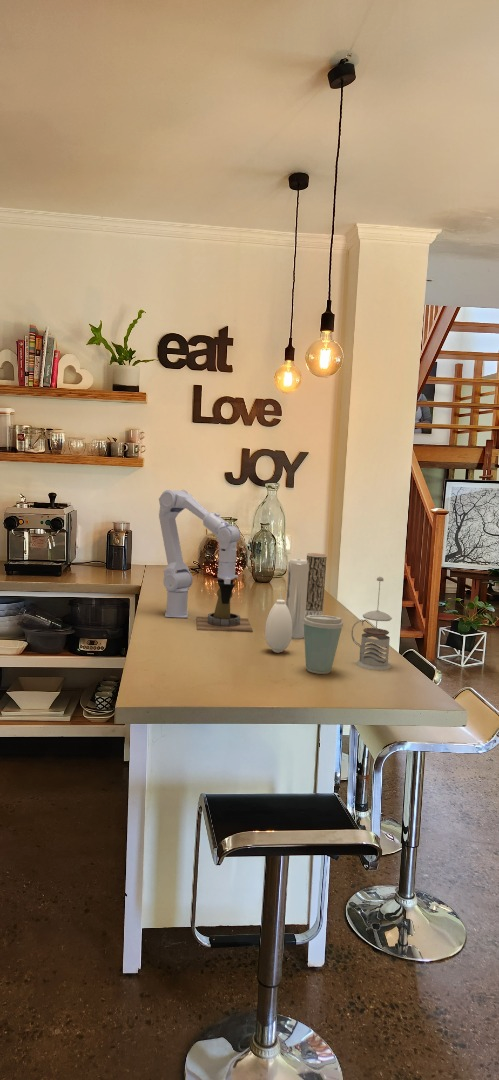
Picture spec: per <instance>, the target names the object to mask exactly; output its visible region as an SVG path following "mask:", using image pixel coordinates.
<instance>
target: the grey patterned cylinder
mask: <svg viewBox="0 0 499 1080" xmlns="http://www.w3.org/2000/svg"><path fill="white" fill-rule="evenodd" d="M327 558H328V556H327V554H325V553H318V552H317V553H316V552H315V553H314V552H309V553H308V552H307V554H306V560H307V563H309V571H308V586H307V601H306V615H305V617H306V616H308V615H324V613H323V612H324V603H325V602H324V601H325V585H326V584H325V583H326V574H327V573H326V572H327Z"/></svg>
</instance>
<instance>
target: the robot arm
mask: <svg viewBox="0 0 499 1080" xmlns="http://www.w3.org/2000/svg"><path fill="white" fill-rule="evenodd" d="M158 502H159V511H158V512H159V513H158V519H159V524H160V525H159V526H160V530H161V536H162V541H163V546H164V551H165V552H164V553H165V557H166V563H167V565H166V567H165V568H164V570H163V575H164V576H163V586H164V588H165V589H166V592H167V593H166V595H167V596H166V610H165V613H164V617H165V618H184V619H185V618H186V619H187V618H189V611H188V600H189V599H188V597H189V595H188V594H189V590H190V587H191V586H192V585H193V582H194V578H193V575H192V573H191V572H190V569H189V566H188V565H187V564H186V563H185V562H184V558H183V555H182V554H183V553H182V547H181V544H180V543H181V542H180V537H179V533H178V531H179V530H178V525H177V522H176V521H177V520H176V518H177V517H178V515H179V514H180V513H181V512H183V511H184V510H185V509H187V510H188V511H190V513H192V514H193V515H195V516H196V517H198V518H199V519H200V520H202V524H203V526H204V527H205V528H206V529H208V531H210V532H211V533H212V534H214V536H216V539H217V541H218V547H219V548H218V549H219V550H218V563H217V564H218V567H217V578H218V579H216V581H217V584H218V587H219V589H220V591H221V599H222V604H229V601H230V602H231V599H230V596H231V593H233V589H234V588H235V586H236V584H235V583H234V581H235V580H234V579H235V578H236V579H239V575H238V574H236V565H237V563H236V561H237V548H238V545H237V544H238V541H240V538H241V536H242V535H241V530H240V529H239V528H238V527H237V525H230V522H228V521H226V520H224V519H223V517H221V515H220V513H219V512H209V510H207V509H206V508H205V507H203V506H202V504H200V503H199V502H198V501H197V500H196V499H195V498H194V496H193V495H192V494H191V493H189V492H188V491H186V490H184V489H182V490H172V489H166V490H164V491H163V492H162V493H161V495H160V497H158Z"/></svg>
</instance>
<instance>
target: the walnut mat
mask: <svg viewBox="0 0 499 1080" xmlns="http://www.w3.org/2000/svg"><path fill="white" fill-rule="evenodd" d="M196 630H197V631H213V632H215V631H216V632H217V631H219V632H242V633H245V632H246V633H253V628H252V625H251V623H250V620H249V618H246V617H245V618H244V617H243V618H242V617H240V625H238V626H233V627H220V626H214V625H210V624H208V616H198V615H197V616H196Z"/></svg>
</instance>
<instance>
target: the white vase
mask: <svg viewBox="0 0 499 1080" xmlns="http://www.w3.org/2000/svg"><path fill="white" fill-rule="evenodd" d="M282 593H283V591H280V595H279V599H276V600H275V603H274V605H272V607H271V609H270V611H269V613H268V616H267V618H266V622H265V628H264V636H265V641H266V644H267V646H268V648H270V650H271V651H273V652H274V653H277V654H279V653H282V652H284V650H287V648H288V647H289V645H290V643H291V641H292V639H291V638H292V619H291V615H290V612H289V609H288V607H287V606H286V599H285V600H284V599H283V596H282V595H283V594H282Z"/></svg>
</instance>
